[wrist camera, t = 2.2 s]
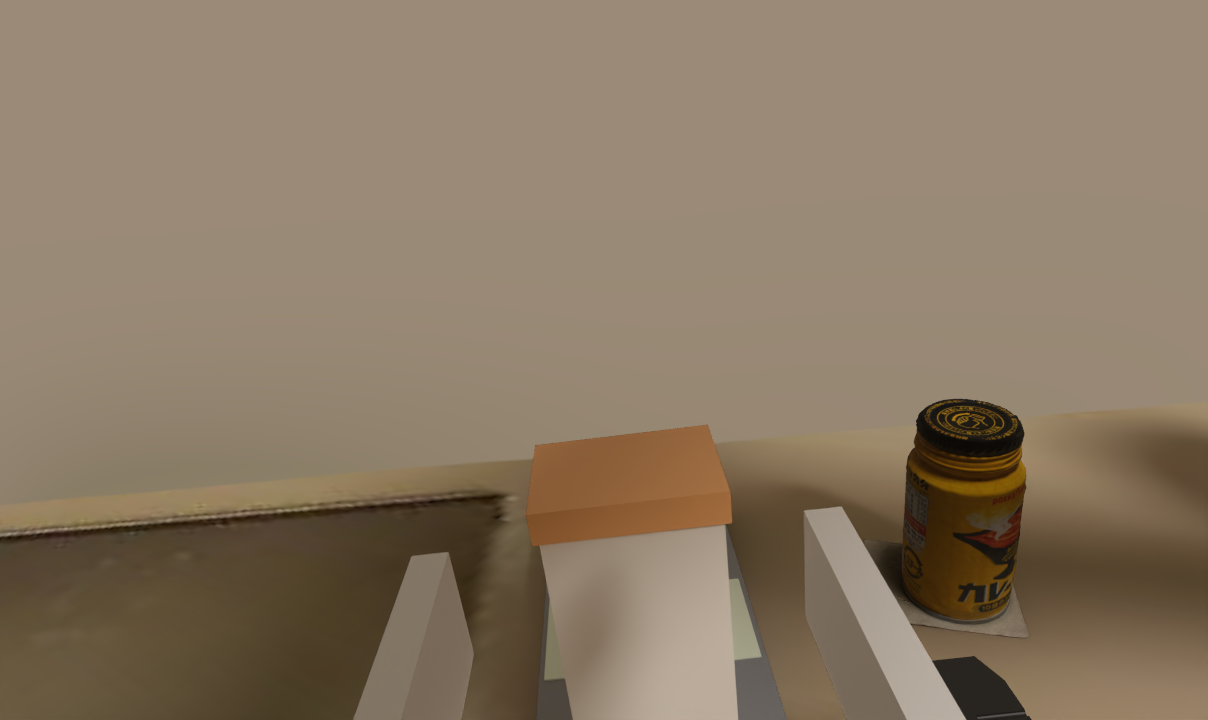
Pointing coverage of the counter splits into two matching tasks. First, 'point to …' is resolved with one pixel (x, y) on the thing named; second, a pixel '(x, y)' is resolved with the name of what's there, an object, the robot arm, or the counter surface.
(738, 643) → the console
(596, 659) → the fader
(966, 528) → the condiment
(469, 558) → the counter surface
